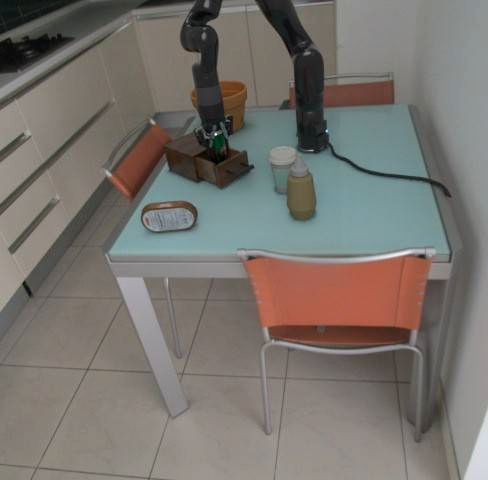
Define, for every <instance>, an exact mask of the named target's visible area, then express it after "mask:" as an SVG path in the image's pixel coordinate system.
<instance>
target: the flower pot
mask: <svg viewBox="0 0 488 480" xmlns="http://www.w3.org/2000/svg"><path fill="white" fill-rule="evenodd" d="M219 83H220V87H221V91H222V97H223V103H224V110H225V114H224V115H226V114H228V115H231V116H233V133H235V132H237V131H239V130H241V129H242V127H243V126H244V119H245V108H246V101H247V100H248V88H247V85H246V83H245V82H243V81H238V80H219ZM189 97H190V101H191V103H192V107H193V108H194V109H195V110H196V111H197V113H198V114H199V112H198V107H197V101H196V96H195V88H193V89H192V90H191V91H190V93H189ZM224 127H225V123H224ZM228 131H229V129H228Z"/></svg>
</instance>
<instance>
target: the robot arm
mask: <svg viewBox="0 0 488 480" xmlns="http://www.w3.org/2000/svg"><path fill="white" fill-rule="evenodd" d="M223 2H224V0H194V3H193V5H192V6H191V8H190V10H189V11H188V14H187V15H186V17H185V19H184V21H183V23H182V25H181V27H180V31H179V42H180V46H181V47H182V49H183V50H184V51H186V52H188V53H193V54H200V60H198V61H196V62H194V63H193V64H192V65H191V76H192V80H193V85H194V89H195V96H196V101H197V107H198V111H197V113H198V112H199V113H198V116H199V119H200V121H201V122H200V126H199V127H197V128H194V129H193V131H194V134H195V136H196V138H197V141H198V143H199V145H200V146H202V147H205V148H206V151H207V155H208V156H209V157H210V158H215V154H214V148H213V140H214V139H215V131H216V130H219V129H222V131H223V132H224V138H225V144H226V150H227V151H228V150H229V149H228V148H229V147H230V143H229V138H230V136H233V134H234V132H233V116H231V115H228V114H226V115H224V114H225V110H224V103H223V97H222V91H221V87H220V83H219V81H220V78H219V72H218V62H219V50H220V38H219V34H218V32H217V30H216V28H214V27H213V26H212V25H211V24H208V23H209V22H212V21H215V20H217V19H218V18H219V16H220V14H221V10H222V7H223ZM254 2H255V4H256V6H257V8H259V11H260V12H261V14H262V15H263V17H264V18H265V20H266V21H267V23H268V24H269V25H270V26H271V27H272V28H273V30H274V31H275V32H276V33H277V34H278V36H279V37H280V39H281V41H282V43H283V44H284V47H285V48H286V51H287V53H288V55H289V58H290V60H291V63H292V68H293V81H294V92H293V93H294V105H295V106H294V107H295V122H296V123H295V125H296V133H295V135H296V139H297V150H298V151H300V152H303V153H311V154H313V153H314V154H318V153H319V152H321V151H322V150H324V149H326V148H327V147H329V149H330V152H331V154H332V156H334V157H335V158H336V159H339V160H341V161H345V162H347V163H348V164H350V165H351V166H352V167H353V168H355V169H356V170H358V171H361V172H364V173H367V174H371V175H375V176H380V177H386V178H387V177H388V178H398V179H405V180H414V181H415V180H417V181H423V182H427V183H430V184H433V185H436V186H438V187H440V188H441V189H442V190H443V191H444V193H445V194H446V196H447V198H449V199H451V198H452V194H451V193H450V190H448V187H446V185H444V184H443V183H442V182H440V181H437V180H435V179H431V178H428V177H424V176H417V175H407V174H397V173H387V172H381V171H376V170H371V169H367V168H364V167H362V166H360V165H357V164H356V163H354V161H352V160H350V159H349V158H347V157H344V156H341V155H338V154H337V153H336V152H335V149H334V146H333V145H332V143H331V142H330V134H329V133H328V121H327V119H325V98H324V97H325V95H324V92H325V60H324V57H323V56H324V55H323V54H322V52H321V50H320V49H319V47H318V46H317V44H316V43H315V42H314V41H313V39H312V38H311V37H310V35H309V34H308V32H307V30H306V29H305V27H304V26H303V24H302V22H301V19H300V18H299V17H300V16H299V14H298V11H297V9H296V7H295V4H294V1H293V0H254ZM224 123H225V127H224ZM228 129H229V131H228ZM207 133H208V134H210V135H211V136H207ZM203 134H204V135H203ZM208 139H209V141H208ZM208 142H209V143H208Z"/></svg>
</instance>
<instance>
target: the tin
mask: <svg viewBox="0 0 488 480" xmlns="http://www.w3.org/2000/svg"><path fill="white" fill-rule="evenodd" d="M198 217H199V212H198V209H197V207H196V206H195V205H194V204H193V203H192V202H189V201H188V200H181V199H180V200H179V199H178V200H168V201H159V202H157V201H156V202H150V203H147V204H146V205H144V206H143V208H142V209H141V214H140V222H141V224H142V226H143V227H144V228H145V229H146V230H148V231H150V232H153V233H165V232H166V233H167V232H177V231H179V232H180V231H188V230H190V229H192V228H193V227H194V226H195V225H196V223H197V221H198Z"/></svg>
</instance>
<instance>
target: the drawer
mask: <svg viewBox="0 0 488 480" xmlns="http://www.w3.org/2000/svg"><path fill="white" fill-rule="evenodd" d="M228 149H229V150H228V151H227V156H228V159H227V160H225V161H223V162H221V163H219V164H217V165H215V163H212V160H211V158H210V157H209V156H208V155H207V152H205V153H203V154H201V155H199V156H197V157H195V162H196V166H197V171H198V176H199V177H200V178H203V179H204V180H205V181H206V182H207V181H208V182H210V183H212V184H215V185H217V188H218V189H219V190H221V189H223V188H225V187H227V186H228V185H230V184H232V183H234V182H236V181H237V180H239V179H241V178H242V177H244V176H245V175H247V174H249V173H250V172H251V171H252V170H254V169H255V164H253V163H252V164H249V163H250V162H249V156H248V150H246V149H243V150H242V151H240V150H239V149H237V148H233V147H230V146H229V148H228Z"/></svg>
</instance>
